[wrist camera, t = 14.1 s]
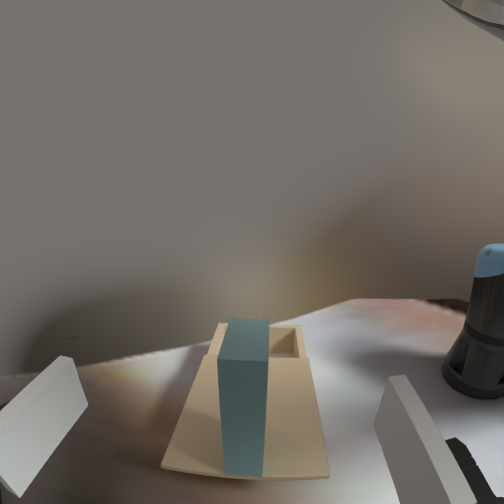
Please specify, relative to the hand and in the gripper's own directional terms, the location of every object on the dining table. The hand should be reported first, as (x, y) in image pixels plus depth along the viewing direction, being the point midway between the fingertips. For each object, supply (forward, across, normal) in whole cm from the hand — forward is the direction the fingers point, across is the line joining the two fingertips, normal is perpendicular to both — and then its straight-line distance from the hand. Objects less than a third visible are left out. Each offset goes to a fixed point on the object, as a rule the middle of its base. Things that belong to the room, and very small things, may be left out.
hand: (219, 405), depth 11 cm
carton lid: (+16, 0, -14) cm, 21 cm away
